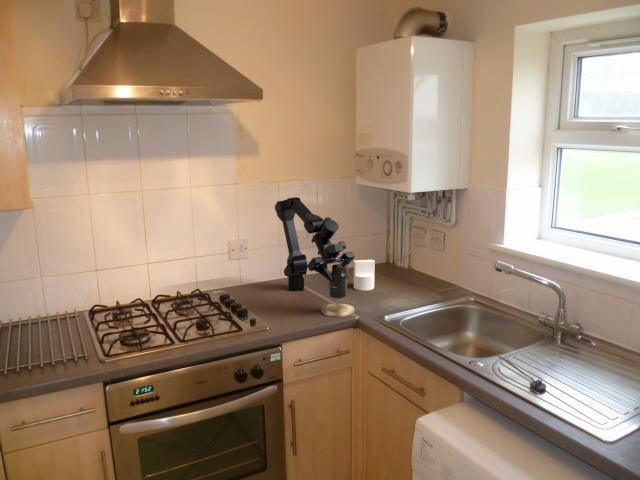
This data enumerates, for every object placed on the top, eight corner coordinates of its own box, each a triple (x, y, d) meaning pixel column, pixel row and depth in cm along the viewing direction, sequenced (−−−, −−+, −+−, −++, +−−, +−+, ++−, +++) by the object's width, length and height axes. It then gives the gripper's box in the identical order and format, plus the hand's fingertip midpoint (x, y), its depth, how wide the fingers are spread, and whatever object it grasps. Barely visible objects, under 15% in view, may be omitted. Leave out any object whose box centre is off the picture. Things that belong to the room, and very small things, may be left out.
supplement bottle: (329, 298, 205) (329, 268, 202) (328, 292, 211) (328, 263, 208) (347, 298, 205) (347, 268, 202) (346, 292, 211) (346, 263, 208)
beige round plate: (323, 318, 202) (323, 315, 202) (319, 306, 214) (319, 304, 214) (357, 316, 204) (357, 314, 203) (351, 304, 216) (351, 302, 216)
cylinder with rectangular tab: (371, 283, 243) (372, 257, 240) (376, 290, 234) (376, 263, 232) (351, 284, 242) (352, 258, 239) (355, 290, 233) (356, 264, 230)
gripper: (311, 237, 201) (327, 273, 194) (352, 231, 210) (369, 265, 204) (301, 253, 209) (316, 288, 203) (340, 247, 219) (356, 280, 212)
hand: (339, 280), depth 205 cm, fingers closed on supplement bottle, 7 cm apart
